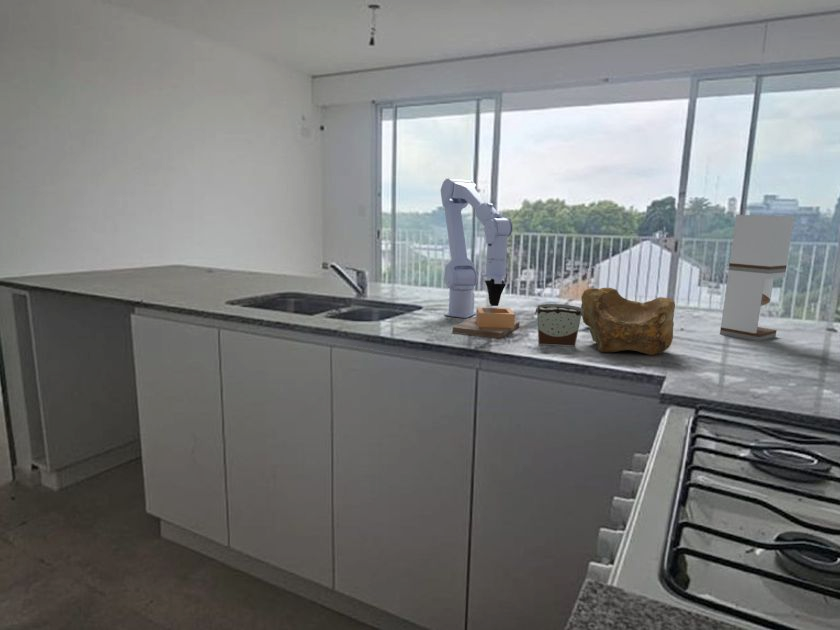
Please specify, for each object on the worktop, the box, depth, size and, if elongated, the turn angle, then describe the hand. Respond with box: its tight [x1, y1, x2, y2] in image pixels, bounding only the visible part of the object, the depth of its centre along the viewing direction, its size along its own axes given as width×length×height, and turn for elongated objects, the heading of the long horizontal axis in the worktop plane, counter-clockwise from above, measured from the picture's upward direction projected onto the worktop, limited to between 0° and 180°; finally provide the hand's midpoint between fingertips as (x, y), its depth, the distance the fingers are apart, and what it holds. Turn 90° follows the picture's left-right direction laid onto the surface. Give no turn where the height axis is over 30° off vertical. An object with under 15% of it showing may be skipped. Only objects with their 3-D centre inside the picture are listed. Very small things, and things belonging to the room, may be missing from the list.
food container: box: [534, 303, 584, 347], centre depth 141 cm, size 12×6×10 cm, turn 84°
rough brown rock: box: [580, 287, 676, 356], centre depth 135 cm, size 23×17×15 cm
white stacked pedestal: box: [719, 214, 795, 342], centre depth 156 cm, size 11×11×35 cm
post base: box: [452, 309, 521, 339], centre depth 156 cm, size 19×14×6 cm
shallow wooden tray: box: [475, 306, 516, 328], centre depth 156 cm, size 10×10×4 cm
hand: (493, 304), depth 160 cm, fingers open, 2 cm apart
